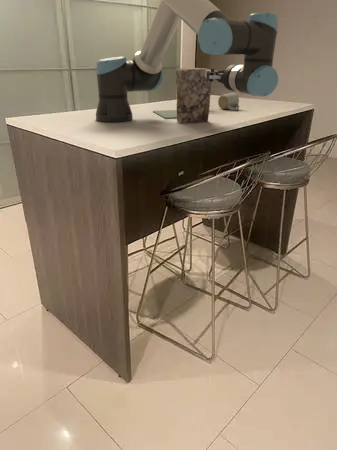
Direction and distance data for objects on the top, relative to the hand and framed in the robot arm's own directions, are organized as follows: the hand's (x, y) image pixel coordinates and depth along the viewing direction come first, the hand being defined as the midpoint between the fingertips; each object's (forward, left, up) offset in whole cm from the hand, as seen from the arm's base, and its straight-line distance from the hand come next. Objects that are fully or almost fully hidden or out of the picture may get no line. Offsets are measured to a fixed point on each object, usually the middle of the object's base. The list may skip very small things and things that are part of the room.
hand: (207, 74), depth 121 cm
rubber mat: (0, +31, -19) cm, 36 cm away
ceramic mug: (+31, +41, -19) cm, 55 cm away
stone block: (0, +12, -19) cm, 22 cm away
